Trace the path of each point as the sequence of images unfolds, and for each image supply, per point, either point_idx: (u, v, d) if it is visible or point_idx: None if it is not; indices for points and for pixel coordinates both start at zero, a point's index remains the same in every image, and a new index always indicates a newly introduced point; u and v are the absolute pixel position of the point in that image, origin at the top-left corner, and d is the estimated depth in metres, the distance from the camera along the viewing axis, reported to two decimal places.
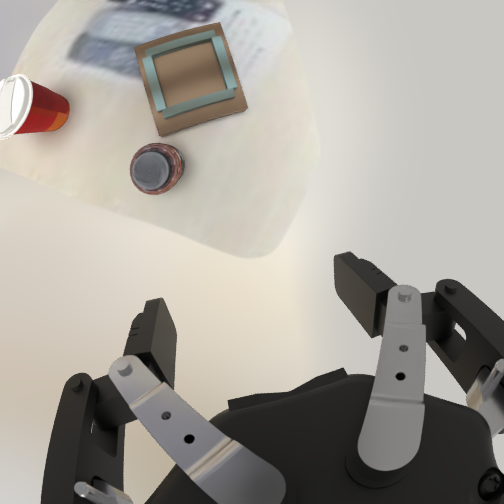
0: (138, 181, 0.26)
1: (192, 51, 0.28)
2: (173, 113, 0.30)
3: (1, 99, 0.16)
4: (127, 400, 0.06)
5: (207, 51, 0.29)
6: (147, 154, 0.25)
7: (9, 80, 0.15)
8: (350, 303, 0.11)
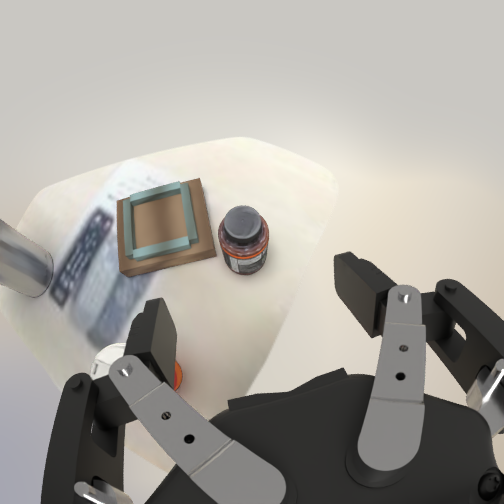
0: (251, 232, 0.29)
1: (139, 220, 0.39)
2: (194, 229, 0.36)
3: None
4: (127, 400, 0.06)
5: (142, 208, 0.39)
6: (226, 221, 0.29)
7: (93, 371, 0.21)
8: (350, 303, 0.11)
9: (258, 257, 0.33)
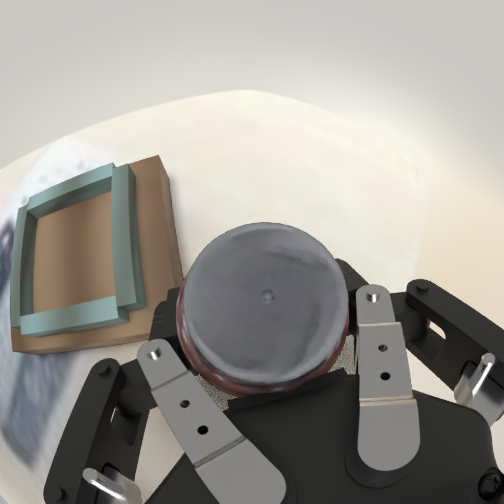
0: (309, 354, 0.06)
1: (41, 248, 0.16)
2: (131, 278, 0.13)
3: None
4: (150, 384, 0.07)
5: (48, 223, 0.16)
6: (194, 301, 0.06)
7: None
8: None
9: None
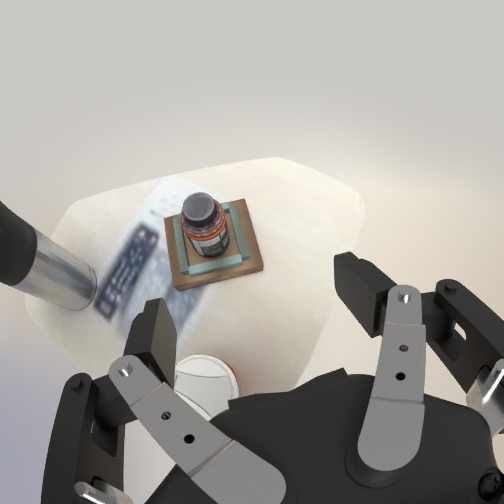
0: (205, 215, 0.32)
1: None
2: (246, 248, 0.41)
3: (192, 392, 0.25)
4: (127, 400, 0.06)
5: None
6: (184, 206, 0.33)
7: (174, 381, 0.26)
8: (350, 303, 0.11)
9: (217, 239, 0.37)
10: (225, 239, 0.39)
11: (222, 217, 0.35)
